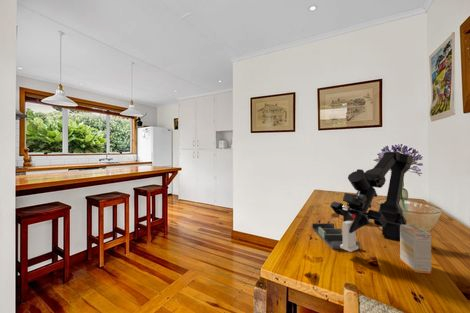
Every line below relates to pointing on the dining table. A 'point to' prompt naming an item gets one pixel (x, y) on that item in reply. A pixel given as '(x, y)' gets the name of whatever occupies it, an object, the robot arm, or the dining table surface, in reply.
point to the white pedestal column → (348, 237)
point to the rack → (330, 234)
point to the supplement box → (415, 248)
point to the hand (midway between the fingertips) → (346, 231)
